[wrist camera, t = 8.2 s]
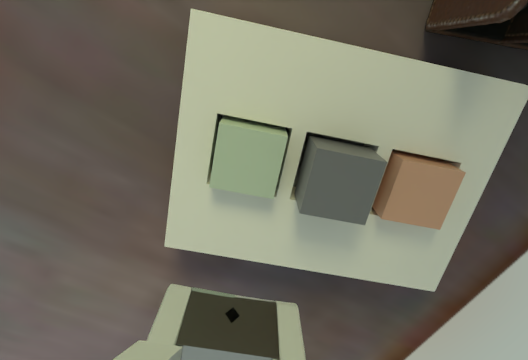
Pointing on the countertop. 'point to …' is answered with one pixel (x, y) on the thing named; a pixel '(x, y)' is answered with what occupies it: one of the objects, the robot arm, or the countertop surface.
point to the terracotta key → (417, 189)
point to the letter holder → (482, 20)
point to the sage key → (248, 156)
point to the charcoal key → (338, 180)
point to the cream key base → (334, 128)
